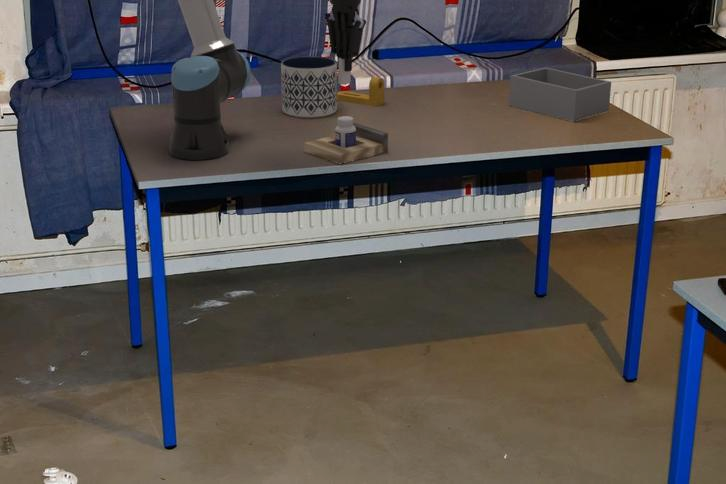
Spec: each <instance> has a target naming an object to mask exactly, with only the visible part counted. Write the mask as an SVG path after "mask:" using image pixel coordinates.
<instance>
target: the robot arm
mask: <svg viewBox="0 0 726 484" xmlns="http://www.w3.org/2000/svg"><path fill="white" fill-rule="evenodd" d="M361 1H362V0H329V3H330V4H331V5H332V7H331V11H329V12H327V13H325V14H324V18H325V20H326V23H327V29H328V35H329V36H328V37H329V43H330V49H331V51H330V52H331V53H333V54H335V55H336V58H337V70H338V77H337V85H338V84H339V85H343V86H345V85H348V84H351V74H352V73H351V72H352V70H353V58H355V57H358V56H359V54H360V47H361V43H362V37H363V31H364V28H365V26H366V25H367V21H366V19H362V18H361V17H360V11H359V6H360V5H361V3H362V2H361ZM177 2H178V4H179V8H180V10H181V13H182V16H183V20H184V22H185V24H186V27H187V30H188V33H189V36H190V39H191V41H192V45H193V50H192V52H191V54H190V57H185V58H182V59H179V60H178V61H176V62H175V63H174V64H173V66H172V68H171V78H170V82H171V90H172V92H171V93H172V102H173V119H174V122H173V123H174V124H173V129H172V131H171V135H170V140H169V142H168V143H169V145H168V146H169V148H168V149H169V154H170V156H171V157H174V158H177V159H181V160H190V161H191V160H192V161H200V160H201V161H202V160H211V159H216V158H219V157H223V156H225V155H226V154H228V153H229V152H230V141H229V138H228V137H227V134H226V130H225V128H224V126H223V123H222V118H221V103H223V102H224V101H226V100H228V99H230V98H231V99H232V98H234V97H236V96H237V95H239V94H240V93H241V92H243V91H244V90H245V88H247V86H248V84H249V82H250V78H251V66H250V63H249V60H248V59H247V58H246V57H245V55H244V54H242V53H241V52H240V51H238V50H237V49H236V46H235V43H234V41H233V40H231V39H229V38H228V37H227V36H226V34H225V31H224V29H223V25H222V22H221V19H220V16H219V13H218V10H217V8H216V4H215V2H214V0H177Z"/></svg>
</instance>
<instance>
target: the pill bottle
mask: <svg viewBox="0 0 726 484" xmlns="http://www.w3.org/2000/svg"><path fill="white" fill-rule="evenodd" d="M353 122H354V117H352V116H348V115H347V116H346V115H345V116H339V117H337V126H336V127H335V129H334V130H335V131H334V135H335V145H336V146H339V147H342V148H348V147H352V146H356V128H355V127H354V126H353V125H352V124H353Z"/></svg>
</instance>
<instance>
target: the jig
mask: <svg viewBox="0 0 726 484" xmlns="http://www.w3.org/2000/svg"><path fill="white" fill-rule="evenodd" d="M352 125H353V126H354V127H355V128H356V146H352V147H348V148H342V147H339V146H336V145H335V134H334V135H330V136H327V137H322V138H318V139H314V140H310V141H306V142H304V143H303V145H304V153H306V154H309V155H312V156H314V155H315V156H314V157H317V156H318V158H320V157H321V158H320V159H323V158H324V159H323V160H326V159H327V160H326V161H328V160H331V161H334V162H337V163H344V162H347V161H352V160H356V161H359V160H358V159H360V160H362V158H363V159H367V158H370V157H374V155H375V156H377V155H382V154H385V153H388V151H389V133H388V132H386V131H382V130H379V129H376V128H373V127H369V126H366V125H363V124H360V123H356V122H354V121H353V124H352ZM366 157H367V158H366ZM331 161H330V162H331ZM334 162H333V163H334ZM352 162H353V161H352ZM337 163H336V164H337Z"/></svg>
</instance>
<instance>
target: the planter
mask: <svg viewBox="0 0 726 484" xmlns="http://www.w3.org/2000/svg"><path fill="white" fill-rule="evenodd" d="M280 76H281V77H280V79H281V83H280V84H281V109H282V112H283V113H284V114H286V115H288V116H291V117H295V118H301V119H303V118H306V119H314V118H323V117H328V116H331V115H333V114H334V113H336V112H337V110H338V100H337V93H338V61H336V60H335V59H333V58H330V57H325V56H313V55H311V56H310V55H309V56H307V55H305V56H304V55H303V56H295V57H289V58H285V59H283V60H282V61H281V62H280Z"/></svg>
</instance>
